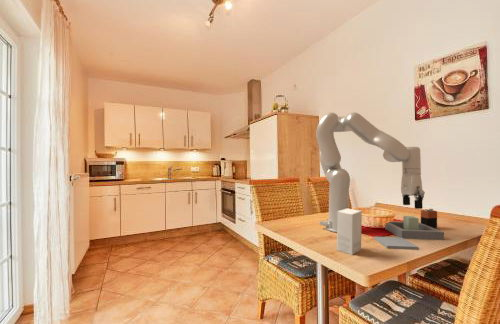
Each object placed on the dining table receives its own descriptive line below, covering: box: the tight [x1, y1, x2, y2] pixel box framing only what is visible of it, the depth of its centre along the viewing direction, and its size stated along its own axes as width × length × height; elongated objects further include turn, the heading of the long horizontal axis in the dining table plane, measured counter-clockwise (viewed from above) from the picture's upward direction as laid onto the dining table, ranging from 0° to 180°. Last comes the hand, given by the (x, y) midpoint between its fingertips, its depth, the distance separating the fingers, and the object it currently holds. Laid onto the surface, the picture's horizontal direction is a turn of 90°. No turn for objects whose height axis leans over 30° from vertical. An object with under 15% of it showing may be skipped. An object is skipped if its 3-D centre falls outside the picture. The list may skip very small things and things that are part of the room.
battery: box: [420, 208, 438, 229], centre depth 126 cm, size 4×7×10 cm, turn 108°
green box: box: [402, 215, 420, 230], centre depth 115 cm, size 4×4×8 cm
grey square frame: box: [384, 220, 445, 241], centre depth 115 cm, size 18×18×4 cm
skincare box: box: [336, 208, 363, 256], centre depth 92 cm, size 8×7×16 cm
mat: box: [373, 236, 420, 250], centre depth 100 cm, size 12×12×1 cm
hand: (412, 206), depth 115 cm, fingers open, 9 cm apart
